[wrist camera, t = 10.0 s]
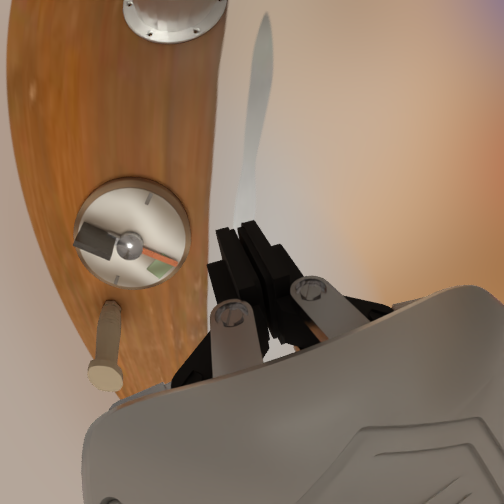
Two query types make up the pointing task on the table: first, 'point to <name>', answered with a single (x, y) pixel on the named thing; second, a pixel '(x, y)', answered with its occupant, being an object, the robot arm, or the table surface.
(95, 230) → the dial pointer
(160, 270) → the base
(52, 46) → the table surface
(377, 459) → the robot arm
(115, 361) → the handle
